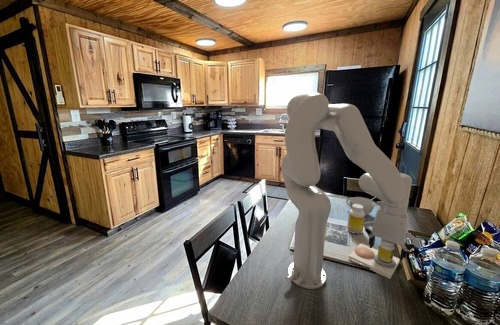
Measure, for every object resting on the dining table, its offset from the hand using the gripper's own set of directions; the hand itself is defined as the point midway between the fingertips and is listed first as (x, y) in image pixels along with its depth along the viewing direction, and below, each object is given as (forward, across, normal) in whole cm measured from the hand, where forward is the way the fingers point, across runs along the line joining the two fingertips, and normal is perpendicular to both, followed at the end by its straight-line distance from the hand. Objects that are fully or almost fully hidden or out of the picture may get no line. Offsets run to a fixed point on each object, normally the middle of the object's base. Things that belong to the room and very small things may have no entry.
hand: (386, 252), depth 80 cm
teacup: (+6, -23, +38) cm, 45 cm away
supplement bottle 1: (+6, -17, +17) cm, 25 cm away
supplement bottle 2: (+4, 0, 0) cm, 4 cm away
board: (+6, -4, 0) cm, 7 cm away
